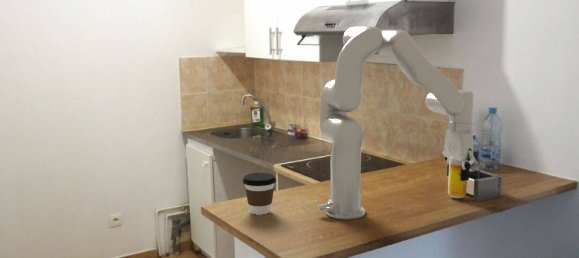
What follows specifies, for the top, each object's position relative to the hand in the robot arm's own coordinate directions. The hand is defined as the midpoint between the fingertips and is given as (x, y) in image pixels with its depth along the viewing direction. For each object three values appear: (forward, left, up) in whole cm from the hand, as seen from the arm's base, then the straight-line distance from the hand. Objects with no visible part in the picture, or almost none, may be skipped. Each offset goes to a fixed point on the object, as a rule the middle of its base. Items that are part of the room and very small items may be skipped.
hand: (457, 177), depth 192 cm
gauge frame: (+9, 0, -7) cm, 11 cm away
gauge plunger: (+7, +1, -6) cm, 10 cm away
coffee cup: (-66, +18, -7) cm, 69 cm away
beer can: (0, 0, -7) cm, 7 cm away
